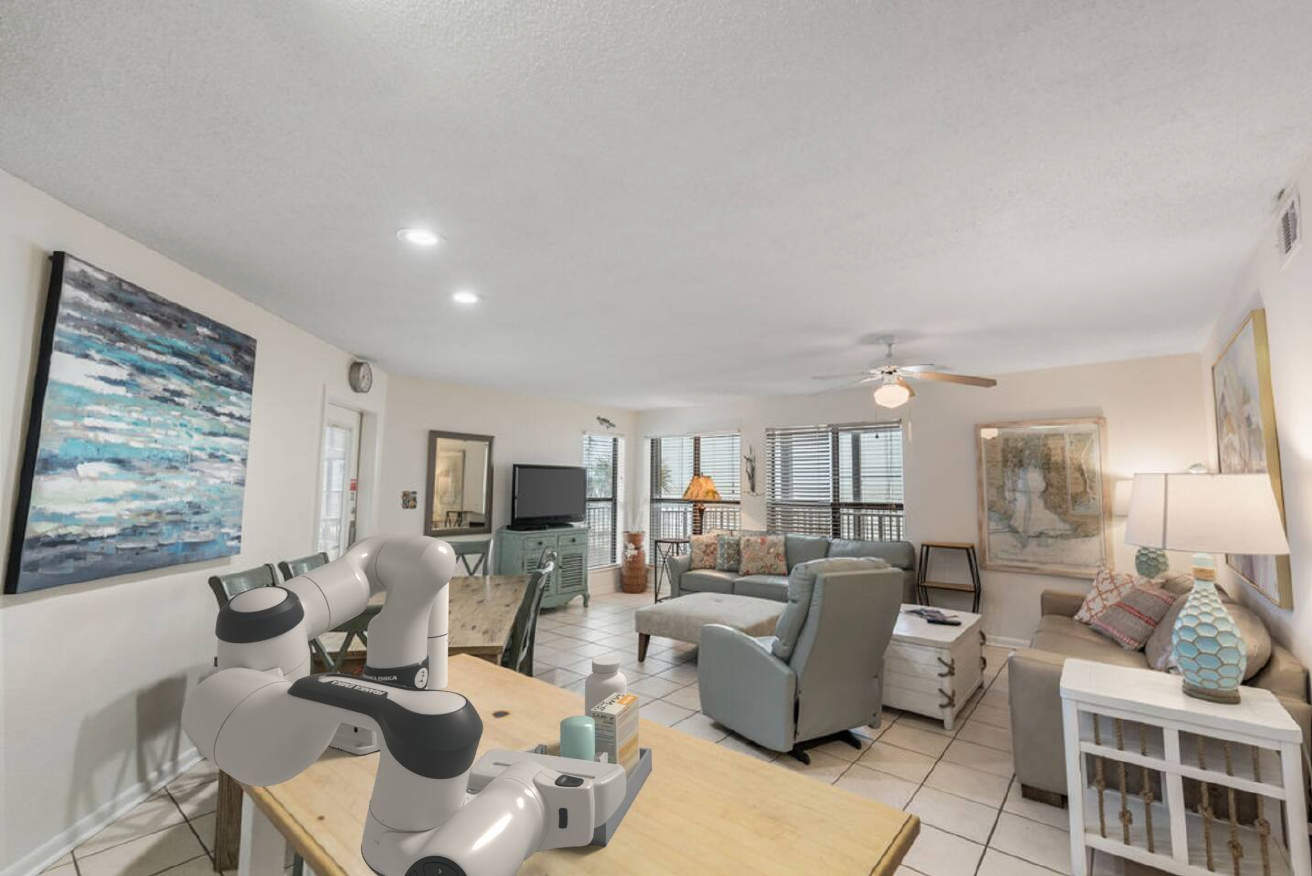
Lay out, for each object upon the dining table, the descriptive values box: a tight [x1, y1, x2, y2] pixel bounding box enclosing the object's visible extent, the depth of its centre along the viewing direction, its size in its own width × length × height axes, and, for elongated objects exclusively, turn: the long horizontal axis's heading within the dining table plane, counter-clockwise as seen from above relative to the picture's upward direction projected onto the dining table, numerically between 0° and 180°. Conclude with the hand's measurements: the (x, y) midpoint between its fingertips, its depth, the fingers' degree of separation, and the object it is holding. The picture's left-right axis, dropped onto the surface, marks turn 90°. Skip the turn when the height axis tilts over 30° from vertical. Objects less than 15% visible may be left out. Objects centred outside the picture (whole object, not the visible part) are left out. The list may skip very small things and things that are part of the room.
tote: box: [588, 746, 653, 847], centre depth 87 cm, size 12×21×4 cm, turn 164°
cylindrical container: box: [427, 581, 450, 690], centre depth 140 cm, size 7×7×25 cm
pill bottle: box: [584, 655, 628, 717], centre depth 108 cm, size 8×8×15 cm
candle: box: [559, 715, 595, 761], centre depth 82 cm, size 5×5×13 cm
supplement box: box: [590, 693, 640, 781], centre depth 90 cm, size 8×5×13 cm, turn 156°
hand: (572, 753), depth 80 cm, fingers open, 8 cm apart
